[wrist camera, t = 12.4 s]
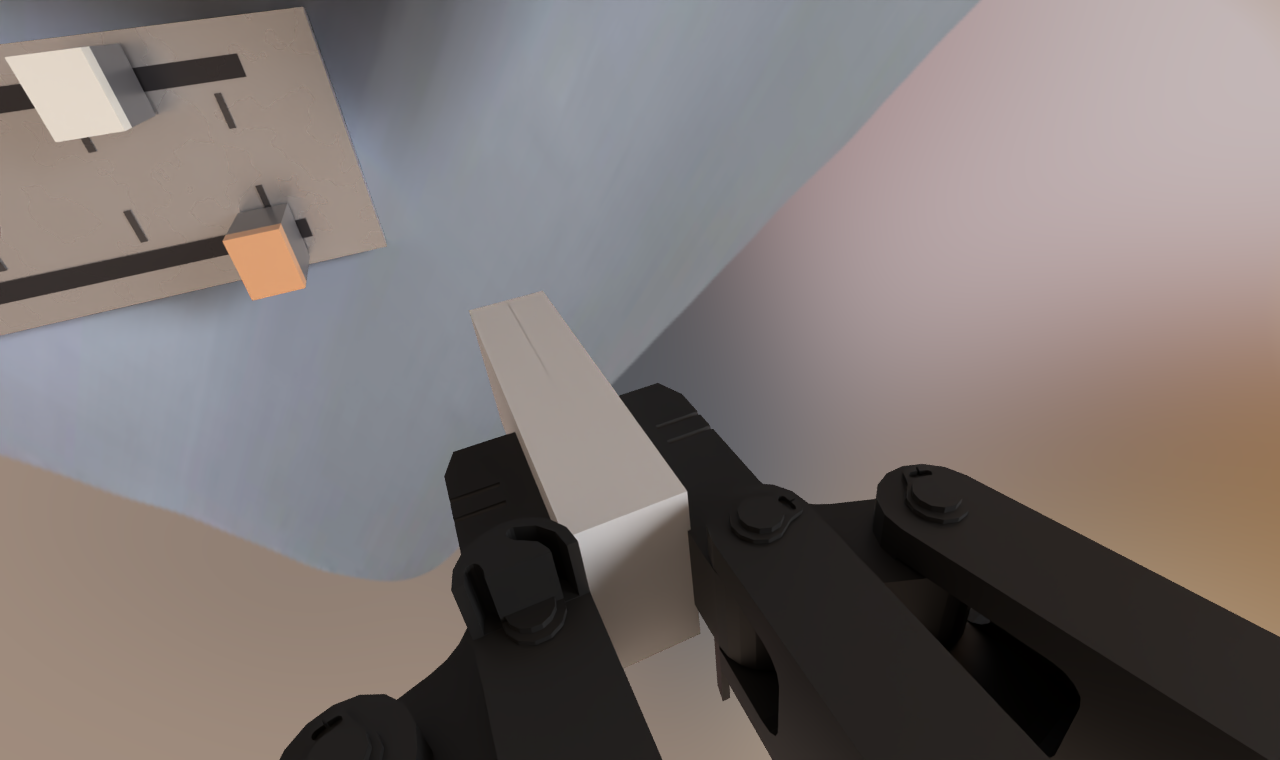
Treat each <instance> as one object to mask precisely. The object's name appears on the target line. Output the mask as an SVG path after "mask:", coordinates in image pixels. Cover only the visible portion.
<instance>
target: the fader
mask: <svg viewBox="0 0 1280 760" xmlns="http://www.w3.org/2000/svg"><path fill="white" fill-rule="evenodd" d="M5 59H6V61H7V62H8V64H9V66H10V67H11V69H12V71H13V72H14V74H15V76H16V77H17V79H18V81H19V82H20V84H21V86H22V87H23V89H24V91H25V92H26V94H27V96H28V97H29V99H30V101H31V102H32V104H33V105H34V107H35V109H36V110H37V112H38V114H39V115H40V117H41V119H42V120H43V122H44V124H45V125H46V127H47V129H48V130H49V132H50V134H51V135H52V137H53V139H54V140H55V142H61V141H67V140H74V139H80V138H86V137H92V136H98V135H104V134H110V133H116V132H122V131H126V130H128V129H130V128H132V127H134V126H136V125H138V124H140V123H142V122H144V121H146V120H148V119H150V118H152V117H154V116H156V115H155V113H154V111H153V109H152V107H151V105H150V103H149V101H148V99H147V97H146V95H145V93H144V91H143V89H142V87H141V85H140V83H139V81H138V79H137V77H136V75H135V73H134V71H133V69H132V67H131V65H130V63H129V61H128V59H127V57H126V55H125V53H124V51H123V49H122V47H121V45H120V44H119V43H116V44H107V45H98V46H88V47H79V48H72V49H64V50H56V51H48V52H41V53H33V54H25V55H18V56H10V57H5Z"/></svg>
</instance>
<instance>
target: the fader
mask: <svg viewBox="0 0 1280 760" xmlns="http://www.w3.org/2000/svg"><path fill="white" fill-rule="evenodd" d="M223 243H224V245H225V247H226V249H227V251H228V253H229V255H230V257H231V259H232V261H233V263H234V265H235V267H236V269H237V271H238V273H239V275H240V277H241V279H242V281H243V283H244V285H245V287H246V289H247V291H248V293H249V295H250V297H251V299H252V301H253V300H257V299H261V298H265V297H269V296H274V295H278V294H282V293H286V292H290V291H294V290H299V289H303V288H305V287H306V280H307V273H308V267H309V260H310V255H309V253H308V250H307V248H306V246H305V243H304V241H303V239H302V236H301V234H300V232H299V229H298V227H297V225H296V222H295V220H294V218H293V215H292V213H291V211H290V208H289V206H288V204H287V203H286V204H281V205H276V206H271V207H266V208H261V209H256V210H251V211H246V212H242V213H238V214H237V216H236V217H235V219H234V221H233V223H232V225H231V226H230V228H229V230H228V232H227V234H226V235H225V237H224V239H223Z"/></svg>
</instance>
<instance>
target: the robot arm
mask: <svg viewBox="0 0 1280 760" xmlns="http://www.w3.org/2000/svg"><path fill="white" fill-rule="evenodd" d="M469 312H470V316H471V319H472V322H473V326H474V329H475V333H476V336H477V339H478V343H479V346H480V350H481V353H482V356H483V360H484V363H485V367H486V370H487V374H488V377H489V380H490V384H491V387H492V391H493V394H494V397H495V401H496V404H497V408H498V411H499V414H500V418H501V421H502V424H503V427H504V429H505V432H506V434H507V435H504V436H501V437H498V438H495V439H492V440H488V441H485V442H482V443H479V444H476V445H473V446H470V447H467V448H464V449H461V450H458V451H455V452H453V455H452V457H451V460H450V463H449V465H448V468H447V471H446V473H445V476H444V477H445V481H446V486H447V491H448V495H449V500H450V503H451V504H450V505H451V509H452V514H453V519H454V522H455V528H456V533H457V537H458V542H459V547H460V551H461V556H460V558H459V560H458V561H457V563H456V565H455V567H454V569H453V574H452V588H451V591H452V593H453V595H454V598H455V600H456V602H457V605H458V607H459V609H460V612H461V614H462V616H463V619H464V621H465V623H466V626H467V629H466V632H465V633H464V636H463V638H462V639H461V641H460V643H459V645H458V646H457V647H456V649H455V650H454V651H453V653H452V654H451V655H450V656H449V658H448V659H447V660H446V661H445V662H444V663H443V664H442V665H440V666H439V667H438V668H437V669H436V670H435V671H434V672H433V673H432V674H430V675H429V676H428V677H427V678H425V679H424V680H422V681H421V682H420V683H418V684H417V685H416V686H415V687H413V688H412V689H411V690H409V691H408V692H407V693H405V694H404V695H403V696H401V697H400V698H399V699H397V700H396V699H393V698H392V697H389V696H387V695H385V694H380V695H379V694H376V695H358V696H356V697H353V698H351V699H348V700H345V701H343V702H340V703H338V704H335V705H333V706H331V707H330V708H329V709H327V710H326V711H324V712H323V713H322V714H320V715H319V716H317V717H316V718H315V719H313V720H312V721H311V722H309V723H308V724H307V725H306V726H305V727H304V728H303V729H302V730H301V731H300V733H299V734H298V735H297V736H296V738H295V739H294V740H293V741H292V742H291V743H290V744H289V746H288V747H287V748H286V749H285V750H284V752H283V754H282V756H281V758H280V760H662V758H661V756H660V754H659V751H658V749H657V746H656V744H655V742H654V740H653V737H652V735H651V733H650V730H649V728H648V726H647V723H646V721H645V719H644V716H643V714H642V712H641V709H640V707H639V705H638V702H637V700H636V698H635V695H634V693H633V690H632V688H631V686H630V683H629V681H628V679H627V677H626V674H625V672H624V670H623V669H624V668H626V667H628V666H630V665H632V664H634V663H637V662H639V661H641V660H643V659H646V658H648V657H650V656H652V655H654V654H656V653H659V652H661V651H663V650H665V649H667V648H670V647H672V646H674V645H676V644H678V643H681V642H683V641H685V640H687V639H689V638H692V637H694V636H696V635H698V634H700V624H699V613H698V611H699V612H700V614H701V616H702V617H703V619H704V621H705V623H706V624H707V626H708V628H709V629H710V631H711V633H712V634H713V636H714V641H715V655H716V669H717V682H718V687H719V691H720V694H721V696H722V700H723V701H724V700H726V699H728V698H730V689H729V685H730V686H731V688H732V690H733V692H734V693H735V695H736V697H737V699H738V700H739V702H740V704H741V706H742V707H743V709H744V711H745V713H746V714H747V716H748V718H749V720H750V721H751V723H752V725H753V726H754V728H755V730H756V732H757V733H758V735H759V737H760V739H761V741H762V742H763V744H764V746H765V748H766V749H767V751H768V753H769V755H770V756H771V758H772V760H1280V637H1279V636H1277V635H1275V634H1273V633H1271V632H1269V631H1267V630H1265V629H1263V628H1261V627H1259V626H1257V625H1255V624H1254V623H1251V622H1250V621H1248V620H1246V619H1244V618H1242V617H1240V616H1238V615H1236V614H1234V613H1232V612H1230V611H1228V610H1226V609H1225V608H1223V607H1221V606H1219V605H1217V604H1215V603H1213V602H1211V601H1209V600H1207V599H1205V598H1203V597H1201V596H1199V595H1197V594H1195V593H1194V592H1191V591H1190V590H1188V589H1186V588H1184V587H1182V586H1180V585H1178V584H1176V583H1174V582H1172V581H1170V580H1168V579H1166V578H1164V577H1162V576H1161V575H1159V574H1157V573H1155V572H1153V571H1151V570H1149V569H1147V568H1145V567H1143V566H1141V565H1139V564H1137V563H1135V562H1133V561H1132V560H1130V559H1128V558H1126V557H1124V556H1122V555H1120V554H1118V553H1116V552H1114V551H1112V550H1110V549H1108V548H1106V547H1104V546H1102V545H1100V544H1099V543H1097V542H1095V541H1093V540H1091V539H1089V538H1087V537H1085V536H1083V535H1081V534H1079V533H1077V532H1075V531H1073V530H1071V529H1069V528H1067V527H1066V526H1064V525H1062V524H1060V523H1058V522H1056V521H1054V520H1052V519H1050V518H1048V517H1046V516H1044V515H1042V514H1040V513H1038V512H1037V511H1034V510H1033V509H1031V508H1029V507H1027V506H1025V505H1023V504H1021V503H1019V502H1017V501H1015V500H1013V499H1011V498H1009V497H1007V496H1005V495H1004V494H1001V493H1000V492H998V491H996V490H994V489H992V488H990V487H988V486H986V485H984V484H982V483H980V482H978V481H976V480H974V479H973V478H971V477H969V476H967V475H964V474H962V473H959V472H956V471H954V470H951V469H948V468H946V467H941V466H933V465H926V464H918V465H909V466H902V467H900V468H898V469H895V470H893V471H891V472H889V473H887V474H886V475H885V476H884V478H883V479H882V480H881V482H880V483H879V484H878V487H877V494H876V499H872V500H863V501H854V502H845V503H837V504H808V503H807V502H805V500H803V499H802V498H800V497H799V496H798V495H796V494H795V493H794V492H792V491H790V490H787V489H784V488H781V487H778V486H775V485H770V484H769V485H768V484H762V483H761V482H760V481H759V480H758V479H757V478H756V477H755V476H754V474H753V473H752V472H751V471H750V470H749V469H748V468H747V466H745V464H744V463H743V462H742V461H741V460H740V459H739V458H738V456H737V455H736V454H735V453H734V452H733V451H732V450H731V449H730V447H729V446H728V445H727V444H726V443H725V442H724V441H723V440H722V438H721V437H720V436H719V435H718V434H717V433H716V432H715V431H714V429H710V425H709V424H708V423H707V422H706V421H705V419H704V418H703V417H702V416H701V415H698V413H697V410H696V409H695V408H694V407H693V406H692V405H691V404H690V403H689V402H688V400H687V399H686V398H685V397H684V396H683V395H682V394H680V393H678V392H676V391H674V390H672V389H670V388H668V387H665V386H663V385H661V384H659V383H656V384H654V385H650V386H648V387H644V388H641V389H638V390H635V391H632V392H629V393H626V394H623V395H620V396H618V395H617V393H616V392H615V391H614V389H613V388H612V386H611V385H610V383H609V382H608V381H607V379H606V378H605V377H604V375H603V374H602V372H601V371H600V370H599V368H598V367H597V365H596V364H595V363H594V361H593V360H592V359H591V357H590V356H589V354H588V353H587V352H586V350H585V349H584V347H583V346H582V345H581V343H580V342H579V340H578V339H577V338H576V336H575V335H574V334H573V332H572V331H571V329H570V328H569V327H568V325H567V324H566V322H565V321H564V320H563V318H562V317H561V316H560V314H559V313H558V311H557V310H556V309H555V307H554V306H553V304H552V303H551V302H550V300H549V299H548V297H547V296H546V295H545V293H544V292H543V291H541V292H537V293H533V294H529V295H526V296H522V297H518V298H514V299H511V300H507V301H503V302H499V303H496V304H492V305H488V306H484V307H481V308H477V309H473V310H469Z"/></svg>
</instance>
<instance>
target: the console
mask: <svg viewBox="0 0 1280 760" xmlns="http://www.w3.org/2000/svg"><path fill="white" fill-rule="evenodd" d="M116 43H119V44H120V45H121V47H122V49H123V51H124V53H125V55H126V57H127V59H128V61H129V63H130V65H131V67H132V69H133V71H134V73H135V75H136V77H137V79H138V81H139V83H140V85H141V87H142V89H143V91H144V93H145V95H146V97H147V99H148V101H149V103H150V105H151V107H152V109H153V111H154V113H155V115H156V116H154V117H152V118H150V119H148V120H146V121H144V122H142V123H140V124H138V125H136V126H134V127H132V128H130V129H128V130H126V131H122V132H116V133H110V134H104V135H98V136H92V137H86V138H80V139H74V140H67V141H61V142H55V140H54V139H53V137H52V135H51V134H50V132H49V130H48V129H47V127H46V125H45V124H44V122H43V120H42V119H41V117H40V115H39V114H38V112H37V110H36V109H35V107H34V105H33V104H32V102H31V101H30V99H29V97H28V96H27V94H26V92H25V91H24V89H23V87H22V86H21V84H20V82H19V81H18V79H17V77H16V76H15V74H14V72H13V71H12V69H11V67H10V66H9V64H8V62H7V61H6V59H5V57H10V56H18V55H25V54H33V53H41V52H48V51H56V50H64V49H72V48H79V47H88V46H98V45H107V44H116ZM286 203H287V204H288V206H289V208H290V211H291V213H292V215H293V218H294V220H295V222H296V225H297V227H298V229H299V232H300V234H301V236H302V239H303V241H304V243H305V246H306V248H307V250H308V253H309V255H310V260H309V264H312V263H317V262H321V261H325V260H330V259H334V258H338V257H343V256H347V255H351V254H356V253H360V252H364V251H369V250H373V249H377V248H382V247H386V246H387V244H386V238H385V234H384V232H383V229H382V226H381V223H380V220H379V217H378V215H377V212H376V209H375V206H374V203H373V200H372V197H371V195H370V192H369V189H368V186H367V183H366V180H365V177H364V175H363V172H362V169H361V166H360V163H359V160H358V157H357V155H356V152H355V149H354V146H353V143H352V140H351V138H350V135H349V132H348V129H347V126H346V123H345V120H344V118H343V115H342V112H341V109H340V106H339V103H338V100H337V98H336V95H335V92H334V89H333V86H332V83H331V81H330V78H329V75H328V72H327V69H326V66H325V63H324V61H323V58H322V55H321V52H320V49H319V46H318V43H317V41H316V38H315V35H314V32H313V29H312V26H311V23H310V21H309V18H308V15H307V12H306V9H305V7H296V8H288V9H280V10H272V11H264V12H256V13H248V14H240V15H232V16H224V17H216V18H208V19H200V20H192V21H184V22H176V23H168V24H160V25H152V26H144V27H136V28H128V29H120V30H112V31H104V32H96V33H88V34H80V35H72V36H64V37H56V38H48V39H40V40H32V41H24V42H16V43H8V44H0V335H4V334H9V333H13V332H17V331H22V330H26V329H30V328H35V327H39V326H44V325H48V324H52V323H57V322H61V321H65V320H70V319H74V318H78V317H83V316H87V315H91V314H96V313H100V312H104V311H109V310H113V309H117V308H122V307H126V306H130V305H135V304H139V303H143V302H148V301H152V300H156V299H161V298H165V297H169V296H174V295H178V294H182V293H187V292H191V291H195V290H200V289H204V288H208V287H213V286H217V285H221V284H226V283H230V282H234V281H239V280H242V279H241V277H240V275H239V273H238V271H237V269H236V267H235V265H234V263H233V261H232V259H231V257H230V255H229V253H228V251H227V249H226V247H225V245H224V243H223V239H224V237H225V235H226V234H227V232H228V230H229V228H230V226H231V225H232V223H233V221H234V219H235V217H236V216H237V214H238V213H242V212H246V211H251V210H256V209H261V208H266V207H271V206H276V205H281V204H286Z"/></svg>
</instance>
